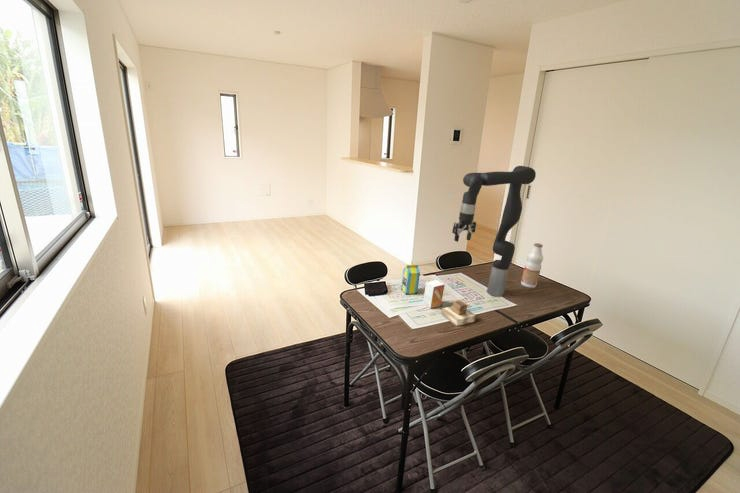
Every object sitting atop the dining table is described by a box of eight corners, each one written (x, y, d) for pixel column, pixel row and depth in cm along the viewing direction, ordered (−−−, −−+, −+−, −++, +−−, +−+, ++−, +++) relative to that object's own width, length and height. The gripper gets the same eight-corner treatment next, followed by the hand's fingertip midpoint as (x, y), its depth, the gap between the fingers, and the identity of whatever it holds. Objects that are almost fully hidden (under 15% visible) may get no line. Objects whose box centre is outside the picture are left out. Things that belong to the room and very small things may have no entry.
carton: (411, 287, 208) (415, 259, 202) (417, 293, 201) (421, 265, 195) (400, 288, 206) (403, 260, 200) (405, 294, 199) (409, 265, 193)
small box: (430, 309, 186) (433, 286, 181) (422, 303, 190) (425, 282, 186) (441, 305, 190) (445, 284, 186) (433, 300, 195) (436, 279, 190)
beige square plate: (458, 311, 187) (459, 304, 186) (474, 322, 177) (475, 315, 176) (440, 315, 181) (441, 308, 180) (456, 327, 171) (457, 320, 170)
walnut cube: (459, 308, 181) (460, 300, 179) (465, 313, 177) (467, 304, 175) (451, 310, 179) (453, 301, 177) (458, 315, 174) (460, 306, 173)
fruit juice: (526, 288, 221) (537, 246, 211) (517, 282, 229) (527, 241, 220) (539, 288, 223) (550, 246, 214) (529, 281, 231) (540, 241, 222)
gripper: (472, 209, 192) (467, 237, 197) (452, 210, 185) (447, 239, 190) (482, 212, 186) (476, 241, 191) (462, 214, 179) (456, 243, 184)
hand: (462, 240), depth 191 cm, fingers open, 8 cm apart
